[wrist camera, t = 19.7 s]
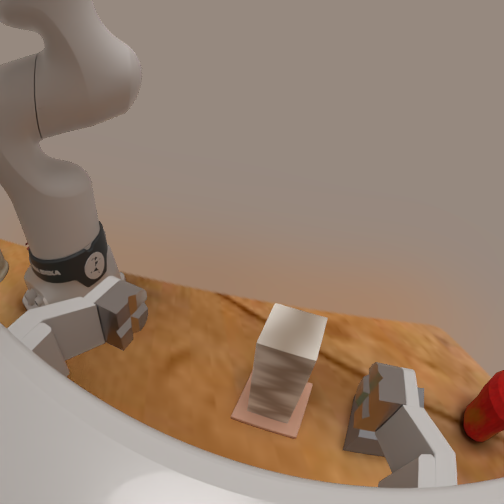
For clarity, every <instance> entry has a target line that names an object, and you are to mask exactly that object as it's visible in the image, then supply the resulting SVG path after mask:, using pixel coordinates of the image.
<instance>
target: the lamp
mask: <svg viewBox="0 0 504 504" xmlns="http://www.w3.org/2000/svg"><path fill="white" fill-rule="evenodd" d="M7 272H8V262H7V261H6V260H5V259H4V257H3V255H2V252H1V250H0V282H1V281H2V280H3V279H4V277H5V275H6V274H7Z"/></svg>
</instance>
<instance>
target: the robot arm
mask: <svg viewBox="0 0 504 504" xmlns="http://www.w3.org/2000/svg"><path fill="white" fill-rule="evenodd" d="M0 22H2V23H3V24H5V25H7V26H10V27H14V28H18V29H23V30H29V31H34V32H37V33H38V34H40V35H41V37H42V38H43V40H44V44H45V48H44V50H42V51H41V52H39V53H37V54H33V55H30V56H26V57H23V58H20V59H17V60H14V61H11V62H8V63H5V64H2V65H0V184H1V186H2V187H3V188H4V190H5V191H6V192H7V194H8V196H9V198H10V199H11V201H12V203H13V206H14V208H15V211H16V213H17V216H18V218H19V221H20V224H21V226H22V229H23V231H24V234H25V237H26V240H27V243H26V245H27V244H28V245H29V247H28V248H27V250H29V260H30V264H31V265H30V266H29V268H28V269H27V271H26V273H25V276H24V280H25V283H26V285H27V287H28V290H27V292H26V293H25V295H24V297H23V300H22V301H23V304H24V306H25V308H26V309H27V312H25V313H24V314H23V315H22V316H21V317H20V318H18V319H17V320H16V321H15V322H14V323H13V324H12V325H10V326H9V327H8V328H5V327H4V326H3V325H2V324H1V323H0V504H504V477H503V478H498V479H493V480H488V481H482V482H476V483H469V484H461V485H457V470H456V456H455V453H454V451H453V450H452V448H451V447H450V445H449V444H448V442H447V441H446V439H445V438H444V437H443V435H442V434H441V432H440V431H439V429H438V428H437V427H436V425H435V424H434V422H433V421H432V419H431V418H430V417H429V415H428V414H427V412H426V411H425V410H424V408H421V407H420V405H419V396H418V389H417V382H416V375H415V371H414V370H412V369H407V368H402V367H401V368H400V367H396V366H391V365H387V364H382V363H377V362H375V363H374V364H372V366H371V367H370V368H369V375H367V376H365V377H363V379H362V380H361V382H360V383H359V386H358V388H357V391H356V397H355V402H356V404H357V406H358V409H357V410H356V411H355V412H354V425H353V428H356V429H361V430H366V431H372V432H375V435H376V438H377V440H378V442H379V444H380V446H381V449H382V451H383V453H384V455H385V458H386V460H387V462H388V464H389V467H390V469H391V471H392V474H391V475H389V476H387V477H386V478H384V479H382V480H381V481H380V482H379V484H378V487H366V486H355V485H345V484H337V483H330V482H323V481H317V480H311V479H305V478H300V477H295V476H290V475H286V474H281V473H277V472H273V471H269V470H265V469H261V468H258V467H254V466H251V465H247V464H244V463H240V462H237V461H234V460H231V459H228V458H225V457H222V456H219V455H216V454H213V453H211V452H208V451H205V450H203V449H200V448H197V447H195V446H192V445H190V444H187V443H185V442H183V441H180V440H178V439H176V438H173V437H171V436H169V435H167V434H164V433H162V432H160V431H158V430H156V429H154V428H152V427H150V426H148V425H146V424H144V423H142V422H140V421H138V420H136V419H134V418H132V417H130V416H128V415H126V414H125V413H123V412H121V411H119V410H117V409H116V408H114V407H112V406H110V405H109V404H107V403H105V402H104V401H102V400H100V399H99V398H97V397H96V396H94V395H92V394H91V393H89V392H88V391H86V390H85V389H83V388H81V387H80V386H78V385H77V384H76V383H74V382H73V381H71V380H70V379H68V378H67V376H68V375H69V369H68V367H67V365H66V362H65V360H68V359H70V358H72V357H74V356H77V355H79V354H81V353H84V352H86V351H88V350H90V349H93V348H95V347H97V346H99V345H102V344H104V343H105V342H107V343H109V344H111V345H113V346H115V347H117V348H119V349H121V350H123V351H124V350H125V349H126V347H127V346H128V345H129V344H130V343H131V341H132V340H133V333H136V332H139V331H140V330H141V329H142V328H143V327H144V325H145V323H146V320H147V317H148V308H147V306H146V305H145V303H144V301H145V300H146V299H147V294H146V291H145V290H144V289H142V288H140V287H137V286H135V285H133V284H130V283H128V282H126V279H125V276H124V274H123V273H122V272H119V270H118V267H117V265H116V262H115V259H114V256H113V254H112V251H111V248H110V247H109V245H107V242H106V235H105V231H104V230H103V226H102V224H101V222H100V221H99V220H98V215H97V210H96V205H95V200H94V194H93V188H92V182H91V179H90V177H89V175H88V174H87V172H86V171H85V170H84V169H83V168H82V167H80V166H79V165H77V164H74V163H72V162H68V161H64V160H59V159H54V158H51V157H49V156H47V155H46V154H45V153H44V152H43V151H42V149H41V148H40V145H39V141H41V140H43V139H44V138H47V137H51V136H54V135H58V134H62V133H66V132H70V131H74V130H78V129H82V128H86V127H91V126H94V125H96V124H99V123H102V122H104V121H106V120H109V119H111V118H114V117H117V116H119V115H122V114H124V113H126V112H127V111H128V110H129V109H130V107H131V106H132V104H133V103H134V101H135V99H136V98H137V95H138V93H139V90H140V86H141V80H142V71H141V65H140V62H139V59H138V57H137V55H136V54H135V52H134V51H133V50H132V48H131V47H129V46H128V45H127V44H126V43H124V42H122V41H121V40H119V39H118V38H117V37H115V36H114V35H113V34H112V33H111V32H110V31H109V30H108V29H107V28H106V27H105V26H104V24H103V23H102V22H101V20H100V18H99V16H98V14H97V12H96V10H95V7H94V3H93V0H0Z"/></svg>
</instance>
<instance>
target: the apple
mask: <svg viewBox="0 0 504 504" xmlns="http://www.w3.org/2000/svg"><path fill="white" fill-rule="evenodd" d="M464 430H465V432H466V434H467V435H468V436H469V437H470V438H472V439H474V440H476V441H480V442H484V441H486V440H488V439H490V438H491V437H493V436H494V435H496V434H498V433H499V432H501V431H503V430H504V370H502V371H500V372H497V373H496V374H495V375H494V376H493V377H492V378H491V379H490V381H489V382H488V383H487V384H486V385H485V386H484V387H483V389H482V390H481V392H480V393H479V395H478V396H477V397H476V398H475V399H474V400H473V401H472V402H471V403H470V404H469V405H468V406H467V408H466V411H465V413H464Z"/></svg>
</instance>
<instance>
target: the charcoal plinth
mask: <svg viewBox="0 0 504 504" xmlns="http://www.w3.org/2000/svg"><path fill="white" fill-rule="evenodd" d="M417 389H418V396H419V405H420V407H421V408H424V389H423V388H418V387H417ZM355 397H356V395H355V396H354V400H353V406H352V411H351V416H350V421H349V426H348V430H347V435H346V439H345V443H344V448H343V450H346V451H352V452H357V453H363V454H370V455H377V456H384V457H385V455H384V453H383V451H382V449H381V446H380V444H379V442H378V440H377V438H376V435H375V432H372V431H366V430H361V429H356V428H353V425H354V412H355V411H356V410H357V409H358V406H357V404H356V402H355Z"/></svg>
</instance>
